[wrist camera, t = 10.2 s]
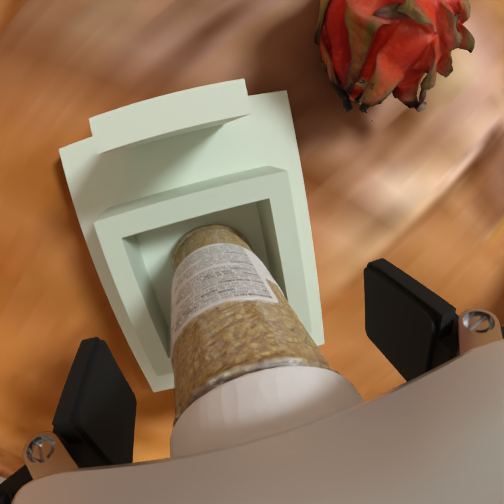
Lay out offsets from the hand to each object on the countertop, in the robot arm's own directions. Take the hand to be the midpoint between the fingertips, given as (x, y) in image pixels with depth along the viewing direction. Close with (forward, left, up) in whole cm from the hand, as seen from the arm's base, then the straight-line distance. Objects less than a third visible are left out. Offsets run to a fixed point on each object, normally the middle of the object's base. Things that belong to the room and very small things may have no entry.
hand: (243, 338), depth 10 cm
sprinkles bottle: (0, 0, -8) cm, 8 cm away
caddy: (+1, 0, -9) cm, 9 cm away
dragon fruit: (-11, -11, -9) cm, 18 cm away
